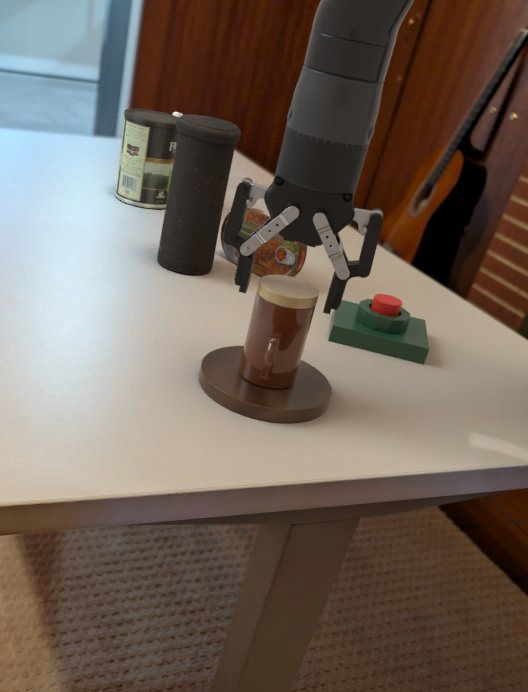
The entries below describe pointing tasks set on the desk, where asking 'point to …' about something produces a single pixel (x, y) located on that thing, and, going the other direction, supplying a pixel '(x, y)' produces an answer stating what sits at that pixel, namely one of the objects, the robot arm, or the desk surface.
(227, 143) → the container
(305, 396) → the turntable
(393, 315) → the button
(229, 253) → the tin
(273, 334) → the mug
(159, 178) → the coffee can
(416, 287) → the desk surface
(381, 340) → the button block
